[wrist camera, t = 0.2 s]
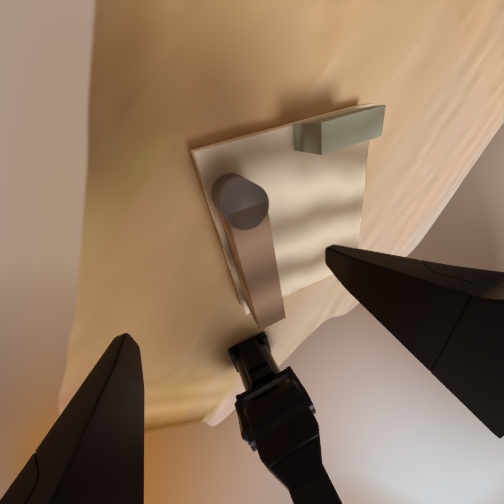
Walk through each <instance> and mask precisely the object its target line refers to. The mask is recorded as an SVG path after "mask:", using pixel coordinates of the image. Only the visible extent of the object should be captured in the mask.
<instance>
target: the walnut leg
mask: <svg viewBox="0 0 504 504" xmlns="http://www.w3.org/2000/svg"><path fill="white" fill-rule="evenodd" d="M212 201H213V203H214V205H215V207H216V208H217V209H218V213H219V216H220V219H221V222H222V226H223V229H224V232H225V235H226V239H227V242H228V245H229V248H230V252H231V255H232V258H233V261H234V265H235V268H236V271H237V274H238V278H239V281H240V284H241V287H242V291H243V294H244V297H245V300H246V304H247V306H248V308H249V310H250V312H251V314H252V316H253V318H254V320H255V321H256V323H257V325H258V327H259V329H260V330H261V329H263V328H266V327H268V326H270V325H272V324H274V323H276V322H278V321H280V320H282V319H284V318H286V317H285V311H284V305H283V299H282V293H281V287H280V280H279V274H278V268H277V262H276V256H275V250H274V244H273V238H272V231H271V225H270V219H269V213H268V210H269V199H268V195H267V193H266V192H265V190H264V189H263V188H262V187H260V186H259V185H257V184H255V183H253V182H251V181H250V180H248V179H246V178H244V177H242V176H240V175H238V174H235V173H229V174H225V175H223V176H221V177H220V178H219V179H218V180H217V181H216V182H215V184H214V185H213V188H212Z"/></svg>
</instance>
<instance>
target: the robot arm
mask: <svg viewBox="0 0 504 504" xmlns="http://www.w3.org/2000/svg"><path fill="white" fill-rule="evenodd" d="M325 263H326V265H327V267H328V268H329V269H330V270H331V272H332V273H333V274H334V275H335V276H336V278H337V279H338V280H339V281H340V282H341V284H342V285H343V286H344V287H345V288H346V289H347V290H348V291H349V292H350V293H351V294H352V295H353V296H354V297H355V298H356V299H357V300H358V301H359V302H360V303H361V304H362V305H363V306H364V307H365V308H366V309H367V310H368V311H369V312H370V313H371V314H372V315H373V316H374V317H375V318H376V319H377V320H378V321H379V322H380V323H381V324H382V325H383V326H384V327H385V328H386V329H387V330H388V331H389V332H391V334H393V335H394V336H395V337H396V338H397V339H398V340H399V341H400V342H401V343H402V344H403V345H404V346H405V347H406V348H407V349H408V350H409V351H410V352H411V353H412V354H413V355H414V356H415V357H416V358H417V359H418V360H419V361H420V362H421V363H422V364H423V365H424V366H425V367H426V368H427V369H428V370H429V371H431V373H432V374H433V375H434V376H435V377H436V378H437V379H438V380H439V381H440V382H441V383H442V384H443V385H445V386H446V388H448V389H449V390H450V391H451V392H452V393H453V394H454V395H455V396H456V397H457V398H458V399H459V400H460V401H461V402H462V403H463V404H464V405H465V406H466V407H467V408H468V409H469V410H470V411H471V412H472V413H473V414H474V415H475V416H476V417H477V418H478V419H479V420H480V421H482V423H484V425H485V426H487V428H489V430H490V431H492V432H493V433H494V434H495V435H496V436H497V437H498V438H502V437H503V436H504V272H497V271H489V270H482V269H474V268H467V267H460V266H452V265H446V264H440V263H434V262H428V261H423V260H421V261H420V260H418V259H412V258H407V257H401V256H395V255H390V254H384V253H379V252H373V251H368V250H362V249H357V248H351V247H346V246H340V245H335V244H333V245H330V246H328V247H326V249H325ZM228 353H229V355H230V357H231V360H232V362H233V364H234V366H235V368H236V370H237V372H239V373H240V376H241V379H242V382H243V385H244V388H245V390H246V391H245V392H243V393H241V394H238V395H236V399H237V401H236V403H235V407H236V411H237V414H238V418H239V424H240V430H241V436H242V438H243V440H245V441H247V442H248V444H249V445H250V446H251V448H252V450H253V451H256V450H258V453H259V456H260V459H261V461H262V462H263V463H264V465H265V466H266V468H267V469H268V470H269V471H270V472H271V473H272V474H273V475H274V476H275V477H276V478H277V479H278V480H279V481H280V482H281V483H282V484H283V485H284V486H285V487H286V488H287V489H288V490H289V492H290V495H291V498H292V500H293V503H294V504H342V502H341V500H340V498H339V496H338V494H337V492H336V490H335V488H334V486H333V484H332V482H331V480H330V479H329V476H328V474H327V472H326V470H325V468H324V466H323V464H322V457H321V446H320V437H319V426H318V423H317V421H316V419H315V417H314V415H313V414H315V413H316V412H315V408H314V406H313V403H312V401H311V399H310V397H309V395H308V393H307V392H306V390H305V388H304V387H303V385H302V384H301V383H300V381H299V379H298V378H297V376H296V375H295V373H294V372H293V370H292V369H291V367H290V366H288V367H287V368H286V369H284V370H283V371H281V372H280V370H279V368H278V366H277V364H276V362H275V360H274V358H273V357H272V355H271V351H270V347H269V343H268V339H267V335H266V334H265V333H261V334H259V335H257V336H255V337H253V338H251V339H249V340H247V341H245V342H243V343H241V344H239V345H237V346H235V347H233V348H231V349H229V350H228ZM0 504H144V381H143V372H142V363H141V355H140V348H139V346H138V344H137V343H136V342H135V341H134V339H133V338H132V337H131V336H130V335H129V334H128V333H124V334H122V335H119V336H117V337H115V338H114V339H113V341H112V342H111V344H110V345H109V346H108V348H107V349H106V351H105V352H104V354H103V355H102V356H101V358H100V359H99V361H98V362H97V364H96V365H95V366H94V368H93V369H92V371H91V372H90V374H89V375H88V376H87V378H86V379H85V381H84V382H83V384H82V385H81V386H80V388H79V389H78V391H77V392H76V394H75V395H74V396H73V398H72V399H71V401H70V402H69V404H68V405H67V406H66V408H65V409H64V411H63V412H62V414H61V415H60V416H59V418H58V419H57V421H56V422H55V424H54V425H53V427H52V428H51V429H50V431H49V432H48V434H47V435H46V436H45V438H44V439H43V441H42V442H41V444H40V445H39V446H38V448H37V449H36V453H34V454H33V455H32V456H31V458H30V459H29V461H28V462H27V463H26V465H25V466H24V468H23V469H22V471H21V472H20V473H19V475H18V476H17V478H16V479H15V480H14V482H13V483H12V485H11V486H10V487H9V489H8V490H7V492H6V493H5V494H4V496H3V497H2V498H1V500H0Z"/></svg>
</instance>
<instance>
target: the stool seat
mask: <svg viewBox="0 0 504 504" xmlns="http://www.w3.org/2000/svg"><path fill="white" fill-rule="evenodd" d="M384 113H385V105H380V106H373V103H369V104H361V105H355V106H351V107H348V108H344V109H340V110H336V111H333V112H329V113H325V114H322V115H318V116H314V117H310V118H307V119H303V120H299V121H296V122H292V123H288V124H284V125H281V126H277V127H273V128H270V129H266V130H262V131H258V132H255V133H251V134H247V135H244V136H240V137H236V138H232V139H229V140H225V141H221V142H218V143H214V144H210V145H206V146H203V147H199V148H195V149H192V150H190V151H191V154H192V157H193V160H194V163H195V166H196V169H197V172H198V176H199V179H200V182H201V185H202V188H203V191H204V194H205V197H206V200H207V203H208V206H209V209H210V212H211V215H212V218H213V221H214V224H215V227H216V230H217V233H218V236H219V239H220V242H221V245H222V248H223V251H224V254H225V257H226V260H227V263H228V266H229V269H230V272H231V275H232V278H233V281H234V284H235V287H236V291H237V294H238V297H239V300H240V303H241V305H242V307H243V309H244V311H245V313H246V314H248V313H251V312H250V310H249V308H248V306H247V304H246V300H245V297H244V294H243V291H242V287H241V284H240V281H239V278H238V274H237V271H236V268H235V265H234V261H233V258H232V255H231V252H230V248H229V245H228V242H227V239H226V235H225V232H224V229H223V226H222V222H221V219H220V216H219V213H218V209H217V208H216V207H215V205H214V203H213V201H212V188H213V185H214V184H215V182H216V181H217V180H218V179H219V178H220V177H221V176H223V175H225V174H229V173H235V174H238V175H240V176H242V177H244V178H246V179H248V180H250V181H251V182H253V183H255V184H257V185H259V186H260V187H262V188H263V189H264V190H265V192H266V193H267V195H268V199H269V210H268V213H269V219H270V225H271V231H272V238H273V244H274V250H275V256H276V262H277V268H278V274H279V280H280V287H281V293H282V298H283V297H285V296H287V295H289V294H291V293H294V292H296V291H298V290H300V289H302V288H304V287H306V286H309V285H311V284H313V283H315V282H317V281H319V280H321V279H324V278H326V277H328V276H330V275H332V274H333V273H332V272H331V270H330V269H329V268H328V267H327V265H326V263H325V249H326V247H328V246H330V245H333V244H335V245H340V246H346V247H351V248H357V249H358V240H359V231H360V222H361V212H362V203H363V193H364V184H365V175H366V165H367V156H368V146H369V140H371V139H374V138H377V137H380V136H381V135H382V128H383V120H384Z"/></svg>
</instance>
